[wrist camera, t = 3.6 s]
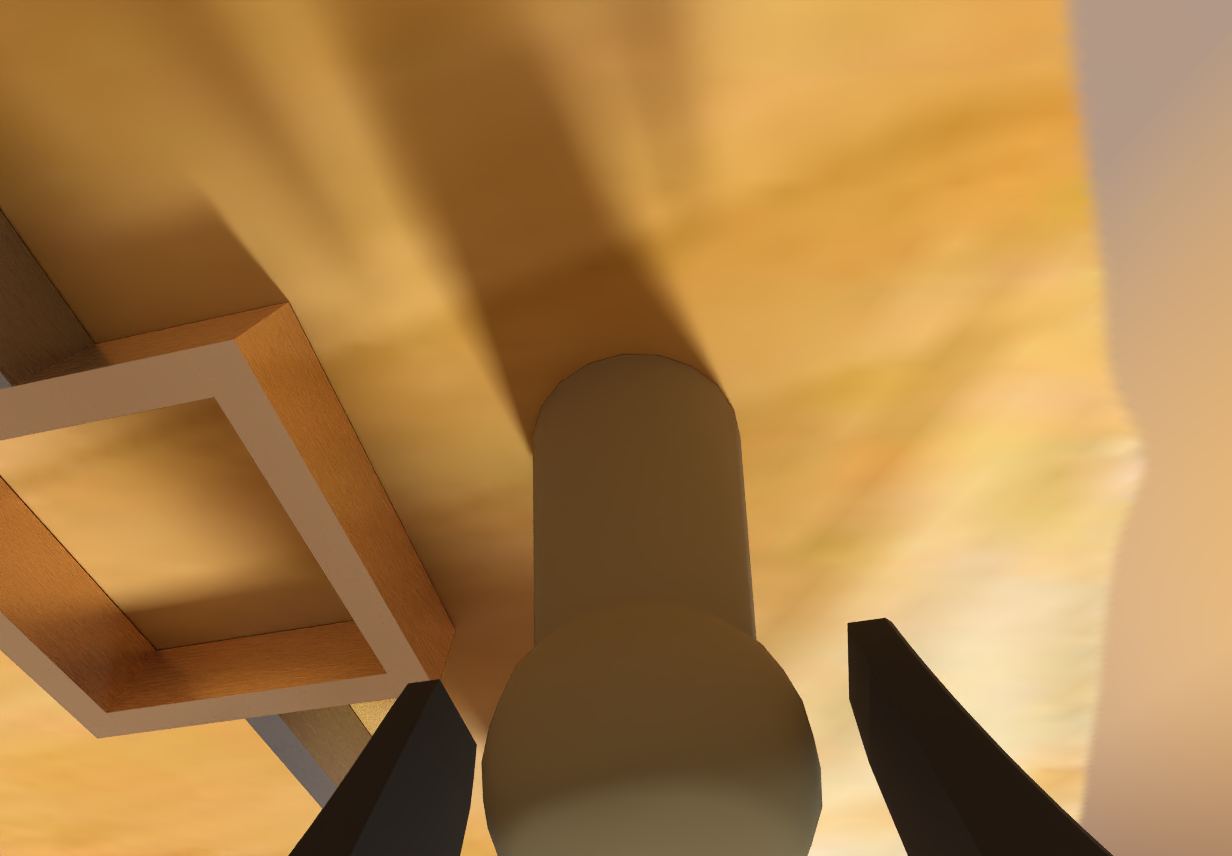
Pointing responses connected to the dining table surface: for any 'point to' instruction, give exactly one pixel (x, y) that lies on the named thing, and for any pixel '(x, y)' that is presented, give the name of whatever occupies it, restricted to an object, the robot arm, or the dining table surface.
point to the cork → (645, 640)
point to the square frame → (303, 483)
